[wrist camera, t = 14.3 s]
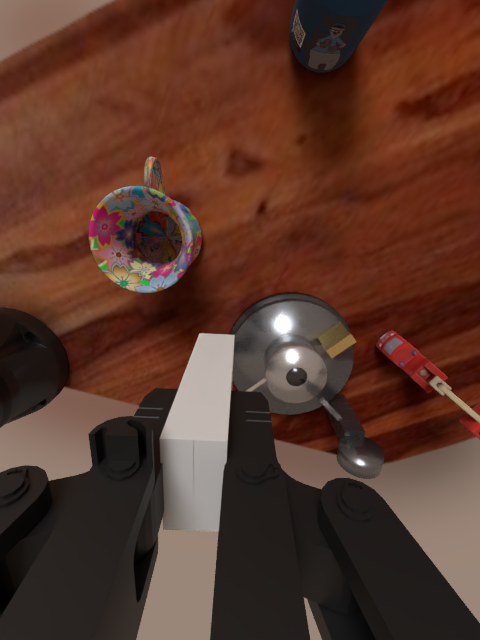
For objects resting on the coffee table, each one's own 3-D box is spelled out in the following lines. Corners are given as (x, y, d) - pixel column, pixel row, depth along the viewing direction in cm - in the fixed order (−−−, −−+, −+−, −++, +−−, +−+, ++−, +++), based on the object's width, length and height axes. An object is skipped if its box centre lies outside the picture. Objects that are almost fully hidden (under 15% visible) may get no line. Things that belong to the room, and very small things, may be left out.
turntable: (204, 347, 40) (199, 366, 35) (304, 272, 37) (314, 281, 32) (276, 427, 44) (281, 455, 39) (372, 365, 41) (391, 386, 36)
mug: (202, 278, 39) (188, 299, 29) (129, 269, 38) (88, 286, 28) (212, 176, 35) (200, 159, 25) (131, 164, 35) (86, 141, 25)
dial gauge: (306, 408, 45) (330, 478, 33) (311, 377, 43) (337, 438, 31) (349, 410, 45) (388, 480, 33) (355, 379, 43) (398, 441, 31)
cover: (252, 354, 39) (254, 371, 35) (298, 323, 38) (306, 337, 33) (283, 392, 41) (288, 413, 36) (328, 364, 39) (338, 382, 35)
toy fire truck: (388, 325, 41) (432, 356, 31) (454, 383, 43) (511, 427, 34) (370, 343, 41) (407, 378, 32) (435, 399, 44) (486, 446, 35)
